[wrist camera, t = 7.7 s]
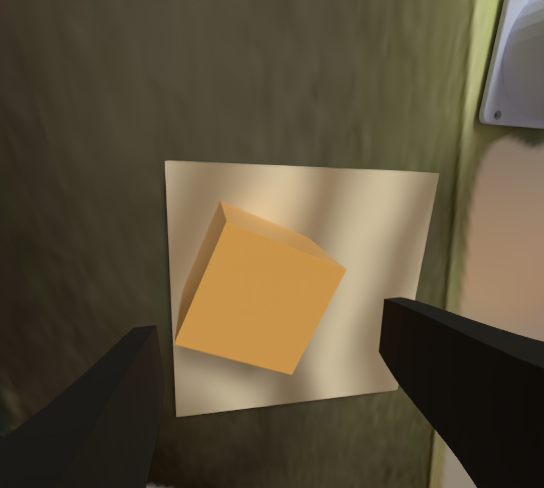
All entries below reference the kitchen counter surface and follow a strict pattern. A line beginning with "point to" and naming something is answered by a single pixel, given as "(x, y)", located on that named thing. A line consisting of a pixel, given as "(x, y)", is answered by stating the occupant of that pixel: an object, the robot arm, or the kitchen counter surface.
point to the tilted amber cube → (255, 291)
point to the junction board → (328, 236)
